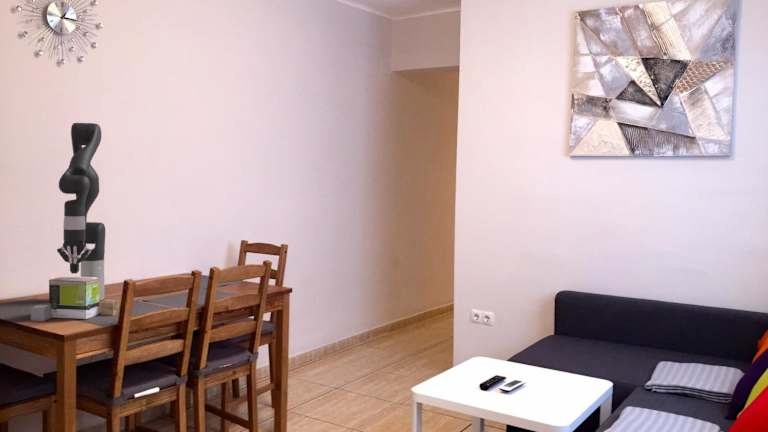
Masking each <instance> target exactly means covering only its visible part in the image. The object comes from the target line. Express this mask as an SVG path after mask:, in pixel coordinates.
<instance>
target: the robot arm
mask: <svg viewBox="0 0 768 432" xmlns="http://www.w3.org/2000/svg"><path fill="white" fill-rule="evenodd" d="M70 137H71V145H72V154H73V155H72V157H71V158H70V161H69V165H68V168H67V169H66V170H65V171H64V173H62V175H61V177H60V178H59V181H58V189H59V191H60V192H61V193H63V194H66V195H70V194H71V195H75V199H69V200H66V201H65V202H64V205H63V207H64V208H63V212H64V213H63V214H64V216H63V217H64V218H63V225H62V226H63V243H62V246H61V247H59V248H57V249H56V251H57V253H58V254H59V256H60V257H61V258H62V259H63V261H64V262H65V263H69V272H70V273H71V274H72V275H73V274H78V273H79V271H80V277H99V301H102V300H104V299H105V252H106V251H105V247H106V225H105V224H104V223H102V222H97V221H95V222H94V221H93V222H90V221H87V217H88V213H89V210H90V209H91V207H92V205H93V204H94V202H95V201H96V199H97V198H98V197H99V194H100V177H99V174H98V173H97V171H96V169H95V168H94V167H93V166H92V164H91V163H92V160H93V157H94V155H95V154H96V152H97V150H98V148H99V146H100V144H101V141H102V129H101V126H100V125H99V123H93V122H90V123H89V122H74V123H72V124H71V128H70ZM87 244H88V245H94V247H93V248H89V247H87Z"/></svg>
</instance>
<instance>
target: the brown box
mask: <svg viewBox="0 0 768 432" xmlns="http://www.w3.org/2000/svg"><path fill="white" fill-rule="evenodd" d="M119 313H120V300H119V299H105V300H104V301H100V315H101V316H115V315H117V314H119Z"/></svg>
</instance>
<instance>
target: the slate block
mask: <svg viewBox="0 0 768 432" xmlns="http://www.w3.org/2000/svg"><path fill="white" fill-rule="evenodd" d="M52 318H53V317H52V308H51V305H49V304H40V303H39V304H36V305H34V306H30V321H35V322H36V321H37V322H38V321H39V322H45V321H47V320H50V319H52Z"/></svg>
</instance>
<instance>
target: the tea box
mask: <svg viewBox="0 0 768 432" xmlns="http://www.w3.org/2000/svg"><path fill="white" fill-rule="evenodd" d="M48 299H49V302H48V305H51V308H52V318H54V319H55V318H56V319H57V318H58V319H60V318H61V319H75V320H76V319H79V320H88V319H90V318H93V317H95V316H98V315H100V307H101V301H100V300H99V277H81V276H73V275H71V276H70V275H64V276H63V275H62V276H59V277H54V278H52V279H51V278H50V279H49V280H48Z"/></svg>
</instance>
